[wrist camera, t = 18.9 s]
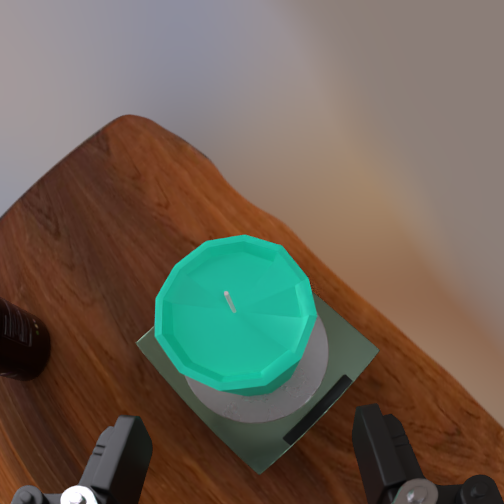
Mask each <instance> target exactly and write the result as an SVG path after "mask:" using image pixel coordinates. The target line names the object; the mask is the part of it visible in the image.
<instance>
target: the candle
mask: <svg viewBox="0 0 504 504" xmlns="http://www.w3.org/2000/svg"><path fill="white" fill-rule="evenodd" d="M316 318H317V312H316V308H315V303H314V299H313V295H312V291H311V286H310V282H309V278H308V277H307V276H306V274H305V273H304V272H303V271H302V269H301V268H300V267H299V266H298V265H297V263H296V262H295V261H294V260H293V258H292V257H291V256H290V255H289V254H288V252H287V251H286V250H285V249H284V247H283V246H282V245H278V244H275V243H272V242H268V241H265V240H261V239H258V238H255V237H251V236H248V235H239V236H233V237H227V238H221V239H215V240H210V241H206V242H204V243H203V244H202V245H200V246H199V247H198V248H196V249H195V250H194V251H192V252H191V253H190V254H189V255H187V256H186V257H185V258H183V259H182V260H181V261H180V262H178V263H177V264H176V265H175V266H174V268H173V269H172V271H171V273H170V274H169V276H168V278H167V280H166V281H165V283H164V285H163V286H162V288H161V290H160V292H159V293H158V295H157V297H156V305H155V338H156V339H157V341H158V342H159V344H160V345H161V347H162V348H163V350H164V351H165V353H166V354H167V356H168V357H169V358H170V360H171V361H172V363H173V364H174V366H175V367H176V368H177V370H178V371H179V372H180V373H182V374H184V375H186V376H188V377H190V378H192V379H194V380H196V381H199V382H201V383H203V384H205V385H207V386H210V387H212V388H214V389H216V390H219V391H222V392H227V393H232V394H237V395H243V396H255V395H262V394H269V393H272V392H274V391H275V390H276V389H278V388H279V387H280V386H281V385H283V384H284V383H285V382H287V381H288V380H289V379H290V378H291V377H292V375H293V373H294V371H295V369H296V368H297V366H298V364H299V362H300V360H301V358H302V356H303V353H304V351H305V348H306V345H307V343H308V340H309V337H310V335H311V332H312V329H313V327H314V324H315V321H316Z"/></svg>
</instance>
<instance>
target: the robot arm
mask: <svg viewBox="0 0 504 504" xmlns="http://www.w3.org/2000/svg"><path fill="white" fill-rule="evenodd" d="M352 442H353V447H354V451H355V455H356V458H357V462H358V466H359V470H360V474H361V477H362V481H363V485H364V489H365V493H366V497H367V501H368V504H504V502H503V500H502V497H501V495H500V493H499V490H498V488H497V486H496V483H495V482H494V480H493V479H492V478H490V477H488V476H486V475H475V476H472V477H470V478H469V479H467V480H466V481H465V483H464V484H459V485H445V486H441V485H436V484H433V483H432V482H431V481H429V480H427V479H426V478H425V477H424V475H423V473H422V471H421V468H420V466H419V464H418V461H417V459H416V456H415V454H414V452H413V449H412V447H411V444H409V440H408V437H407V435H406V434H405V431H404V428H403V426H402V424H401V422H400V421H399V420H398V419H397V418H396V417H394V416H393V415H392V414H388V415H382V413H381V410H380V408H379V406H378V404H377V403H374V404H369V405H364V406H358V407H357V408H356V412H355V418H354V424H353V430H352ZM152 450H153V447H152V441H151V438H150V436H149V434H148V432H147V430H146V428H145V426H144V424H143V421H142V419H141V418H140V417H139V416H129V415H120V416H119V417H118V419H117V421H116V424H115V426H114V427H112V426H109V427H108V428H107V429H106V430H105V431H104V432H103V433H102V434H101V435H100V437H99V439H98V441H97V443H96V447H95V448H94V450H93V452H92V453H93V454H92V455H91V457H90V459H89V461H88V464H87V466H86V468H85V470H84V473H83V475H82V477H81V480H80V482H79V484H78V485H77V486H72V487H70V488H68V489H67V490H66V491H65V492H64V493H63V494H43V493H42V492H41V491H40V490H39V489H38V488H36V487H34V486H31V485H27V486H23V487H21V488H20V489H18V490H17V492H16V493H15V495H14V497H13V500H12V502H11V504H138V502H139V498H140V495H141V491H142V487H143V484H144V480H145V477H146V473H147V470H148V466H149V463H150V459H151V456H152Z"/></svg>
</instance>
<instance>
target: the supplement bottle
mask: <svg viewBox="0 0 504 504" xmlns="http://www.w3.org/2000/svg"><path fill="white" fill-rule="evenodd" d="M49 354H50V340H49V335H48V332H47V329H46V327H45V326H44V324H43V323H42V321H41V320H40V319H39V318H37V317H36V316H34V315H32V314H31V313H29V312H27V311H25V310H23V309H21V308H19V307H18V306H16V305H14V304H12V303H10V302H9V301H7V300H5V299H3V298H2V297H0V376H3V377H7V378H11V379H15V380H20V381H30V380H33V379H35V378H36V377H38V376H39V375H40V374H41V373H42V371H43V370H44V368H45V366H46V364H47V362H48V359H49Z"/></svg>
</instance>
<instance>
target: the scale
mask: <svg viewBox="0 0 504 504" xmlns="http://www.w3.org/2000/svg"><path fill="white" fill-rule="evenodd" d="M312 295H313V299H314V303H315V308H316V312H317V318H316V321H315V324H314V327H313V329H312V332H311V335H310V337H309V340H308V343H307V345H306V348H305V351H304V353H303V356H302V358H301V360H300V362H299V364H298V366H297V368H296V369H295V371H294V373H293V375H292V377H291V378H290V379H289V380H288V381H287V382H285V383H284V384H283V385H281V386H280V387H279V388H278V389H276V390H275V391H274V392H272V393H269V394H262V395H255V396H243V395H237V394H232V393H227V392H222V391H219V390H216V389H214V388H212V387H210V386H207V385H205V384H203V383H201V382H199V381H196V380H194V379H192V378H190V377H188V376H186V375H184V374H182V373H180V372H179V371H178V370H177V368H176V367H175V366H174V364H173V363H172V361H171V360H170V358H169V357H168V356H167V354H166V353H165V351H164V350H163V348H162V347H161V345H160V344H159V342H158V341H157V339H156V338H155V326H154V327H153V328H152V329H151V330H149V331H148V332H147V333H146V334H145V335H144V336H143V337H142V338H141V339H140V340H139V341H138V342H136V344H137V346H138V347H139V348H140V349H141V351H142V352H143V353H144V354H145V356H146V357H147V358H148V359H149V361H150V362H151V363H152V364H153V366H154V367H155V368H156V369H157V370H158V372H159V373H160V374H161V375H162V376H163V378H164V379H165V380H166V381H167V382H168V383H169V385H170V386H171V387H172V388H173V389H174V390H175V391H176V392H177V394H178V395H179V396H180V397H181V398H182V399H183V400H184V401H185V403H186V404H187V405H188V406H189V407H190V408H191V409H192V410H193V411H194V412H195V413H196V414H197V415H198V417H199V418H200V419H201V420H202V421H203V422H204V423H205V424H206V425H207V426H208V427H209V428H210V429H211V430H212V431H213V432H214V433H215V434H216V435H217V436H218V437H219V438H220V439H221V440H222V441H223V442H224V443H225V444H226V445H227V446H228V447H229V448H230V449H231V450H232V451H233V452H234V453H235V454H237V455H238V456H239V457H240V458H241V459H242V460H243V461H244V462H245V463H246V464H247V465H248V466H250V467H251V468H252V469H253V470H254V471H255V472H256V473H257V474H259V475H260V474H261V473H263V472H264V471H265V470H266V469H267V468H268V467H269V466H271V465H272V464H273V463H274V462H275V461H276V460H277V459H279V458H280V457H281V456H282V455H283V454H284V453H285V452H286V451H287V450H288V449H289V448H291V447H292V446H293V445H294V444H295V443H296V442H297V441H298V440H299V439H300V438H301V437H302V436H303V435H304V434H305V433H306V432H307V431H308V430H309V429H310V428H311V427H312V426H313V425H314V424H315V423H316V422H317V421H318V420H319V419H320V418H321V417H322V416H323V415H324V414H325V413H326V412H327V411H328V410H329V409H330V408H331V407H332V406H333V404H334V403H335V402H336V401H337V400H338V399H339V398H340V397H341V396H342V395H343V394H344V392H345V391H346V390H347V389H348V388H349V387H350V386H351V385H352V383H353V382H354V381H355V380H356V379H357V378H358V377H359V375H360V374H361V373H362V372H363V371H364V369H365V368H366V367H367V366H368V365H369V363H370V362H371V361H372V360H373V359H374V357H375V356H376V355H377V354H378V352H379V351H380V350H379V349H378V348H377V347H376V346H375V345H373V344H372V343H371V342H370V341H369V340H368V339H367V338H365V337H364V336H363V335H362V334H361V333H360V332H359V331H357V330H356V329H355V328H354V327H353V326H352V325H351V324H349V323H348V322H347V321H346V320H345V319H344V318H343V317H341V316H340V315H339V314H338V313H337V312H336V311H334V310H333V309H332V308H331V307H330V306H329V305H328V304H326V303H325V302H324V301H323V300H322V299H321V298H319V297H318V296H317V295H316V294H315V293H314V292H313V291H312Z"/></svg>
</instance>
